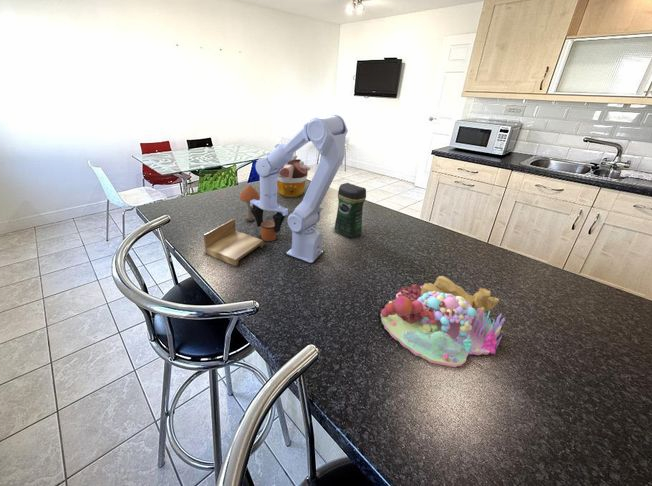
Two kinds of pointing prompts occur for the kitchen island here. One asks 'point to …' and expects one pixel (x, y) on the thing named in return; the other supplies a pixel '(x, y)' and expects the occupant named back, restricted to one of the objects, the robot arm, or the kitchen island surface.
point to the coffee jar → (350, 209)
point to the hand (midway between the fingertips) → (268, 228)
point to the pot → (268, 230)
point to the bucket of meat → (292, 178)
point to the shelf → (229, 243)
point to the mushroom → (249, 199)
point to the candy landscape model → (443, 322)
